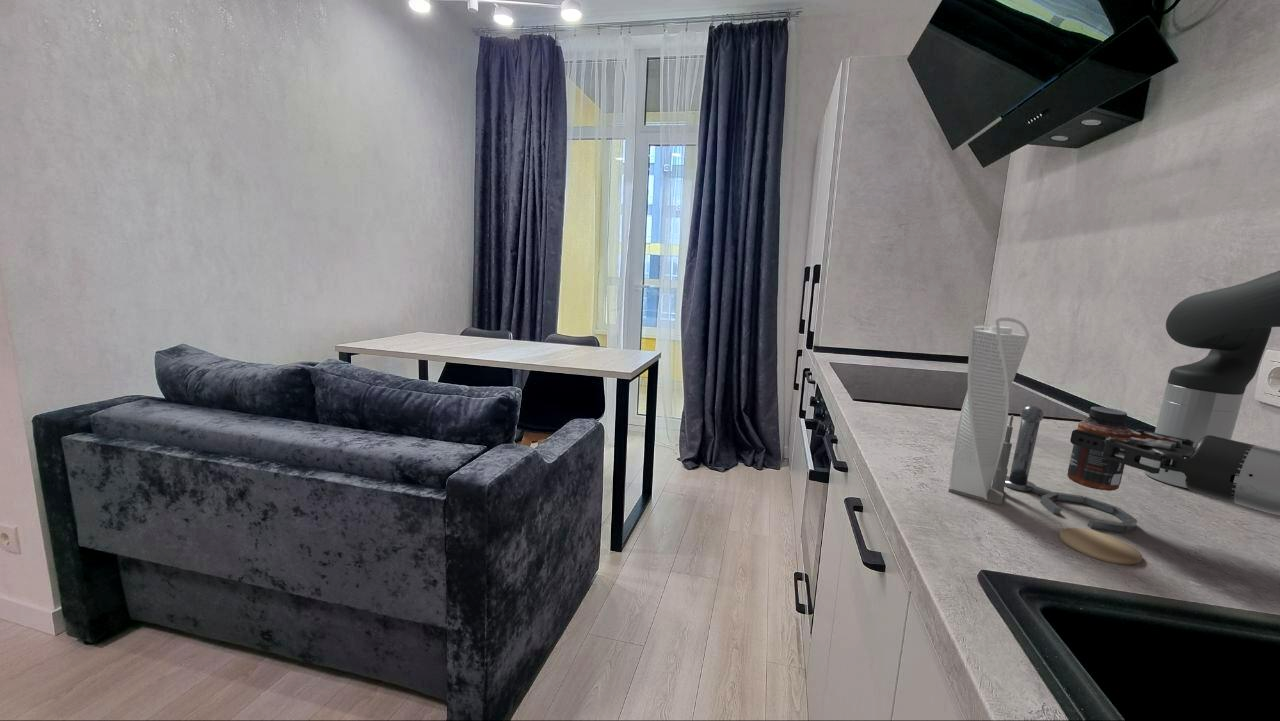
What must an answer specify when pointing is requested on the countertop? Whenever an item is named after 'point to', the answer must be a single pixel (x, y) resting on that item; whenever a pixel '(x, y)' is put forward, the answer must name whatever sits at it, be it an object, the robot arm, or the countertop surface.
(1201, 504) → the countertop surface
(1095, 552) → the coaster
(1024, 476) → the ring holder
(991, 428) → the skyscraper
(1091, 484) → the supplement bottle
